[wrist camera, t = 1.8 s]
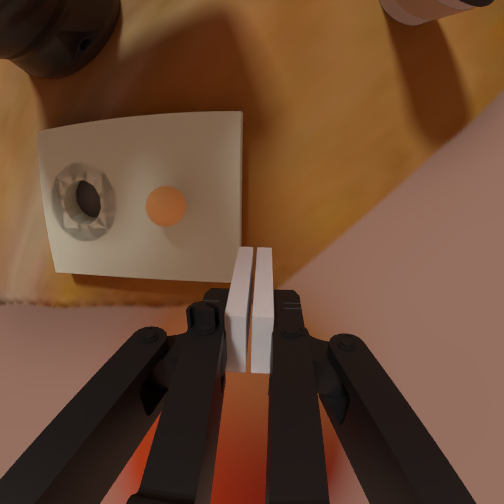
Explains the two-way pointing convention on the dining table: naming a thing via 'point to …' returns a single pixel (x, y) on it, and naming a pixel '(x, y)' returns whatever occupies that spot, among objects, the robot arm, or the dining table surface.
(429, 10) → the coffee cup
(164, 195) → the ball
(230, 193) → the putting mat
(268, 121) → the dining table surface
